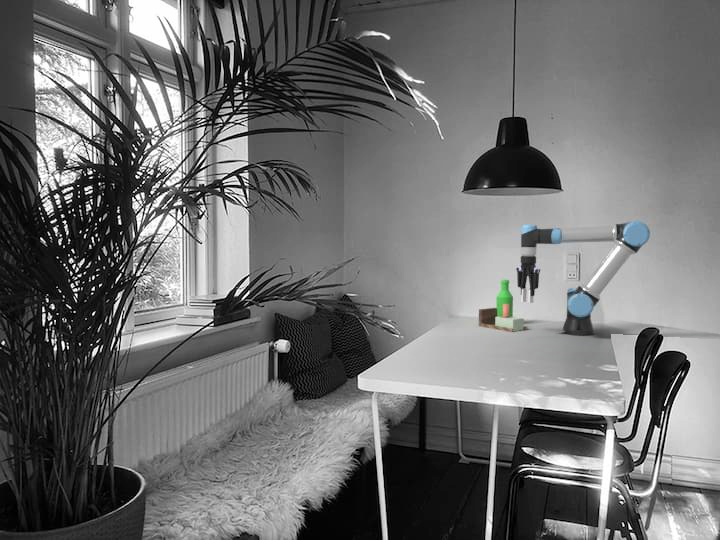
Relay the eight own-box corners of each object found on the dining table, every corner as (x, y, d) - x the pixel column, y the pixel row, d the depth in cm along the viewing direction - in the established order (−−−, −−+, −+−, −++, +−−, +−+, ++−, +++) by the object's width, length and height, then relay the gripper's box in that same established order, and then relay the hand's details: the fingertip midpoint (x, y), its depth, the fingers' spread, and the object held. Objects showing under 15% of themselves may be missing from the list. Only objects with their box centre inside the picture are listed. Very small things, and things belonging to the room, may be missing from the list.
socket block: (523, 330, 328) (523, 318, 328) (512, 331, 324) (513, 319, 323) (505, 326, 338) (506, 315, 338) (495, 328, 333) (495, 316, 333)
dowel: (510, 327, 332) (510, 304, 332) (505, 327, 330) (506, 304, 330) (505, 326, 335) (505, 303, 334) (500, 326, 333) (501, 304, 332)
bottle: (514, 324, 355) (515, 279, 353) (509, 326, 347) (510, 280, 346) (499, 323, 359) (500, 278, 358) (493, 325, 352) (494, 280, 350)
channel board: (527, 332, 329) (527, 312, 328) (511, 334, 322) (512, 314, 321) (494, 326, 347) (494, 307, 347) (478, 328, 341) (478, 309, 340)
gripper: (547, 256, 314) (545, 303, 316) (520, 254, 328) (519, 299, 329) (537, 256, 310) (535, 304, 311) (510, 255, 323) (509, 300, 325)
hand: (527, 302), depth 320 cm, fingers open, 4 cm apart
